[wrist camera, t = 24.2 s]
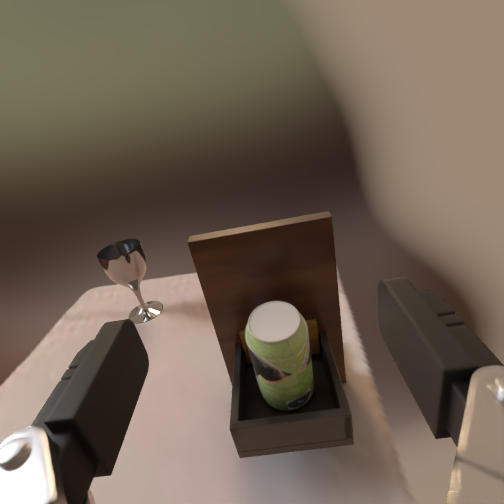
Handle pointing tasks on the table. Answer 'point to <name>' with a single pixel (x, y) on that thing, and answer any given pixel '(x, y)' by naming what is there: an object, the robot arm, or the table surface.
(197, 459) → the table surface
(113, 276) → the wine glass
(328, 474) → the table surface
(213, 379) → the table surface
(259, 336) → the beverage can
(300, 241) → the wooden backboard stand
